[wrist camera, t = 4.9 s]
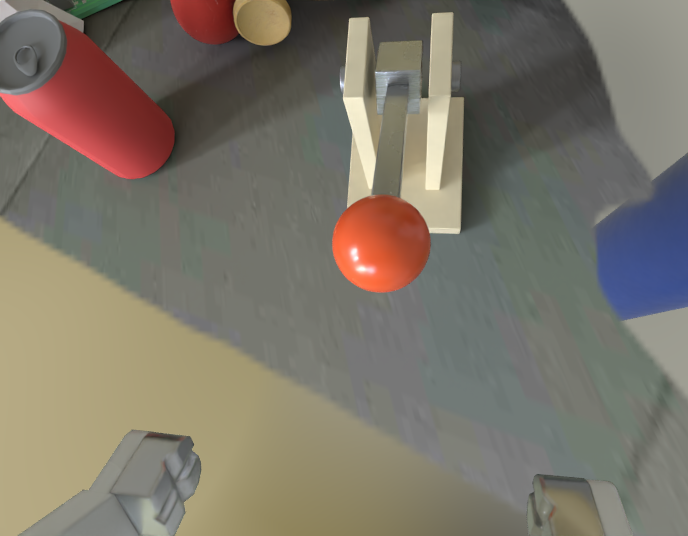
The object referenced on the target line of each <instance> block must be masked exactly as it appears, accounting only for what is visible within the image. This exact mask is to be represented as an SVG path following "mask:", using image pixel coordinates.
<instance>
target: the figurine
mask: <svg viewBox="0 0 688 536" xmlns="http://www.w3.org/2000/svg"><path fill="white" fill-rule="evenodd" d="M29 9H36V10H44V11H46V12H48V13H50V14H52V15H54V16H55V17H56V18H57V19H58V20H60V21H62V22H64V23H66V24H68V25H70V26H72V27H74V28H76V29H78V30H79V31H81V32H82V33H83V31H84V21H83V20H81V19H79V18H77V17H75V16H73V15H71V14H69V13H67V12H65V11H63V10H61V9H59V8H57V7H55V6H53V5H51V4H49V3H47V2H45V1H43V0H0V22H1V21H3V20H4V19H5V18H6V17H8V16H10V15H12V14H14V13H16V12H19V11H24V10H29Z"/></svg>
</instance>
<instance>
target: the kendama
mask: <svg viewBox="0 0 688 536" xmlns="http://www.w3.org/2000/svg"><path fill="white" fill-rule="evenodd" d="M170 1H171V6H172V9H173V12H174V15H175V17H176V19H177V21H178V22H179V24H180V25H181V27H182V28H183V29H184V30H185V31H186V32H187V33H188V34H189V35H190V36H192V37H193V38H194V39H196V40H198V41H200V42H203V43H206V44H222V43H226V42H229V41H230V40H232V39H234V38H235V37H236V36H237V35H238V34H239V33H240V34H241V36H243V37H244V38H245V39H246V40H248V41H250V42H252V43H254V44H257V45H273V44H276V43H279V42H280V41H282V40H283V39H284V38H285V37H286V36H287V35H288V34H289V32H290V30H291V20H292V14H291V9H290V7H289V5H288V3H287V1H286V0H170Z"/></svg>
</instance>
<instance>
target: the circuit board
mask: <svg viewBox="0 0 688 536" xmlns="http://www.w3.org/2000/svg"><path fill="white" fill-rule="evenodd" d="M48 1H49V2H50V3H52V4H53V6H55V7H57V8H59V9H61V10H63V11H65V12H67V13H69V14H71V15H73V16H75V17H77V18H79V19H82V18H85V17H87V16H89V15H91V14H93V13H96V12H98V11H100V10H102V9H104V8H107V7H109V6H111V5H113V4H115V3H118V2H120V1H122V0H48Z"/></svg>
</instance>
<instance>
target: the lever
mask: <svg viewBox="0 0 688 536" xmlns="http://www.w3.org/2000/svg"><path fill="white" fill-rule="evenodd" d="M422 58H423V41H400V42H380V43H379V49H378V54H377V60H376V66H375V72H374V74H375V89H376V105H377V114H378V115H382V121H381V129H380V136H379V143H378V150H377V157H376V164H375V171H374V178H373V186H372V193H371V196H367V197H364V198H362V199H360V200H358V201H356V202H355V203H353V204H352V205H350V206H349V207H348V208H347V209H346V210H345V211H344V213H343V214H342V215H341V217H340V218H339V220H338V222H337V224H336V226H335V230H334V233H333V241H332V246H333V254H334V258H335V261H336V263H337V265H338V267H339V269H340V270H341V272H342V273H343V275H344V276H345V277H346V278H347V279H348V280H349V281H350V282H352V283H353V284H355V285H356V286H358V287H360V288H362V289H365V290H368V291H372V292H390V291H395V290H398V289H401V288H403V287H405V286H406V285H408V284H410V283H411V282H412V281H413V280H414V279H416V278H417V277H418V275H419V274H420V273H421V272H422V270H423V269H424V267H425V265H426V263H427V260H428V257H429V254H430V247H431V242H430V233H429V229H428V226H427V224H426V221H425V219H424V218H423V216H422V215H421V213H420V212H419V211H418V210H417V209H416V208H415V207H414V206H413V205H412V204H410V203H409V202H407V201H406V200H404V199H401V190H402V179H403V167H404V155H405V144H406V132H407V121H408V114H420V106H421V90H422Z"/></svg>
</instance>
